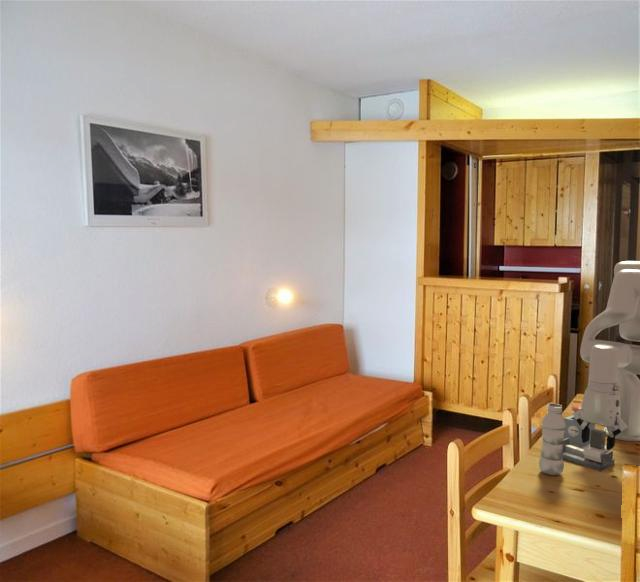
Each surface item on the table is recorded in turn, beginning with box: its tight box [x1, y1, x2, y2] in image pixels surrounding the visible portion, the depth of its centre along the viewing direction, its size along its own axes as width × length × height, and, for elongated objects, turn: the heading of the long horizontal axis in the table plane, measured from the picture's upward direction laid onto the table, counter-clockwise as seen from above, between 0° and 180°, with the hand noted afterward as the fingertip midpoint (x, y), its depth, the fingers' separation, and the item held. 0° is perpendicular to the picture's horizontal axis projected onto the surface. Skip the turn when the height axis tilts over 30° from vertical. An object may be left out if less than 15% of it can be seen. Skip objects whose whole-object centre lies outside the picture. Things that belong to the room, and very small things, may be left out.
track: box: [563, 438, 616, 472], centre depth 182 cm, size 9×14×4 cm, turn 40°
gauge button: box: [571, 404, 582, 420], centre depth 197 cm, size 5×5×5 cm
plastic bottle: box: [538, 403, 566, 476], centre depth 170 cm, size 6×7×20 cm
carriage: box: [582, 428, 612, 463], centre depth 179 cm, size 7×5×8 cm
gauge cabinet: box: [563, 414, 596, 449], centre depth 198 cm, size 8×7×8 cm
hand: (597, 444), depth 179 cm, fingers open, 6 cm apart
